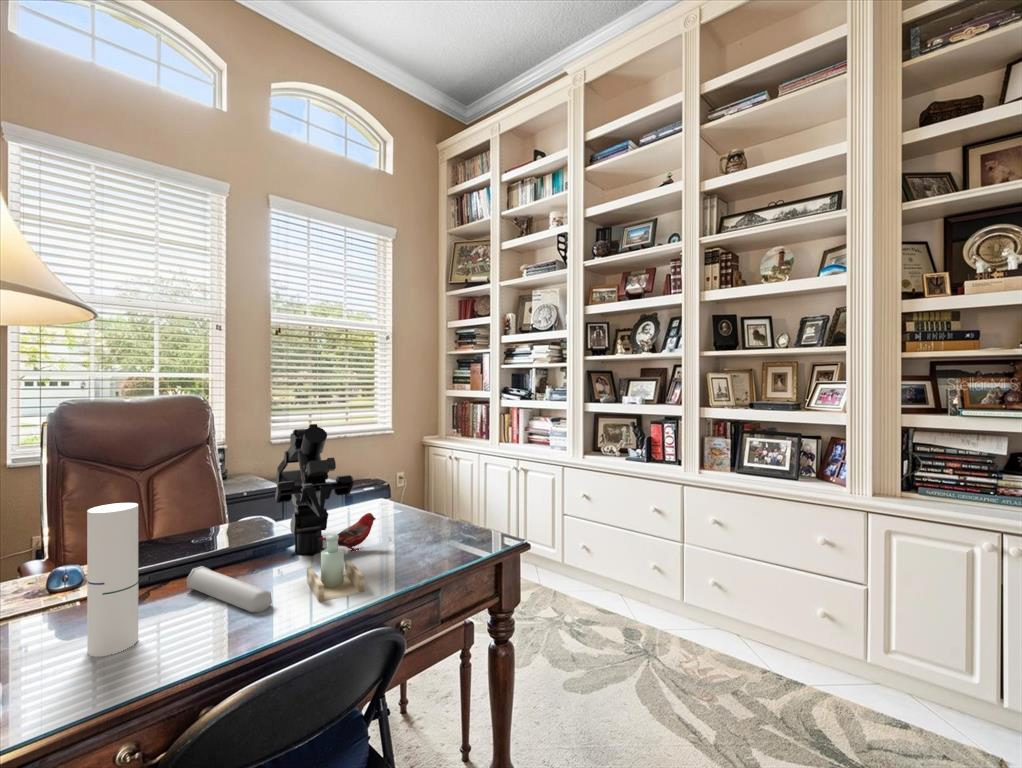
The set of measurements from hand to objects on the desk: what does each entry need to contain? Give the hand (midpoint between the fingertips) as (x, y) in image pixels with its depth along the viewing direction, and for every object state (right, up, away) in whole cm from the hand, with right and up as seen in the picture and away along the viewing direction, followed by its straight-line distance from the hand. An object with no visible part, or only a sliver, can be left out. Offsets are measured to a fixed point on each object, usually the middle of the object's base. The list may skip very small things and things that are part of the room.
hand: (320, 516), depth 125 cm
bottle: (+6, -13, -10) cm, 17 cm away
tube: (-13, -14, -17) cm, 26 cm away
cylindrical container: (-24, -14, -36) cm, 45 cm away
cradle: (+8, -14, -12) cm, 20 cm away
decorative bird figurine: (+3, -14, +12) cm, 18 cm away
